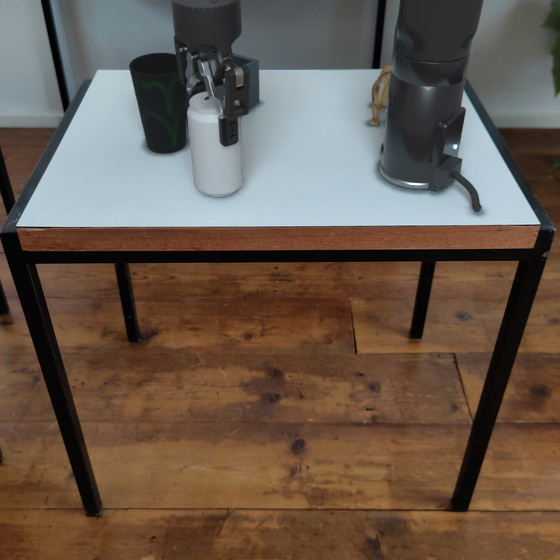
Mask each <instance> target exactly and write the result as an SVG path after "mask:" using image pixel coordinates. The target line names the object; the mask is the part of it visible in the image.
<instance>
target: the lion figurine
mask: <svg viewBox="0 0 560 560" xmlns="http://www.w3.org/2000/svg"><path fill="white" fill-rule="evenodd" d="M391 64H392V63H390V64H386V65H384V66H383V67H382V69H381V72H380V74H379V76H378V77H377V78H376V80H375V81H374V83H373V84H372V88H371V109H372V110H371V111H372V113H371V114H372V119H371V120H370V121H369V124H370V125H372V126H377V125H378V124H379V122H380V117H379V116H380V115H379V111H385V112H386V111H387V101H388V92H389V82H390V73H391Z"/></svg>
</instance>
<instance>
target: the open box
mask: <svg viewBox="0 0 560 560" xmlns="http://www.w3.org/2000/svg"><path fill="white" fill-rule="evenodd" d="M232 53H233V56H234V61H235V64H236V65H237V66H238V67H241V66H245V65H246V66H247V67H248V69H249V110H251V109H252V108H254V107H256V106H257V105H259V104H260V103H261V101H260V60H259V59H255V58H253V57H248V56H245V55H241V54H238V53H234V52H232ZM215 88H216V90H218V91H220V90H224V89H225V85H221V86H218V87H215ZM205 91H207V90H205ZM190 95H191V94H188V92H187V103H186V119H188V116H187V110H188V108H189V106H190V104H189V101H190V99H191V97H190ZM238 101H239V104H240V100H238Z"/></svg>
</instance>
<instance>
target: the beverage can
mask: <svg viewBox="0 0 560 560" xmlns="http://www.w3.org/2000/svg"><path fill="white" fill-rule="evenodd" d="M222 101H223V104H224V107H225V96H223V97H222ZM189 104H190V106H189V108H188V110H187V116H188V118H187V125H188V126H187V127H188V135H189V146H190V155H191V165H192V166H191V167H192V175H193V184H194V187H195V188H196V189H197V191H199V192H201V193H202V194H204V195H205V196H206V195H207V196H208V197H212V198H221V197H222V198H223V197H226V196H230V195H232V194H234V193H235V192H236V191H237V190H240V188H241V187H242V186H243V184H244V181H245V180H244V178H245V177H244V161H243V159H244V158H243V140H242V139H243V138H242V119H241V118H242V116H241V117H238V137H239V140H238V142H237V143H236V144H233V145H230V146H227V147H224V146H223V145H222V144H220V138H219V123H218V117H219V116H218V112H217V109H216V105H215V102H214V100H212V99H210V98H209V95H208V92H202V93H199V94H196V95H194V96H193V97H192V98H191V99H190V101H189Z"/></svg>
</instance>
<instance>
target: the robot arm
mask: <svg viewBox="0 0 560 560" xmlns="http://www.w3.org/2000/svg"><path fill="white" fill-rule="evenodd" d="M484 1H485V0H399V5H398V14H397V18H396V23H395V26H394V35H393V45H392V54H391V63H390V64H391V73H390V82H389V92H388V101H387V111H385V121H384V132H383V141H382V143H381V145H380V150H379V156H380V162H379V163H380V164H379V172H380V175H381V176H382V177H383V178H384V179H385V181H388V182H389V183H390V184H393V185H395V186H398V187H399V188H400V187H401V188H403V189H404V188H405V189H409V190H429V191H433V192H437V191H439V189H440V188H443V189H448V188H449V187H450V186H451V185H452V184H453V183H454V182H455V181H456V182H457V183H458V184H459V185H461V186H463V188H464V189H465V190H466V191H467V192H468V194H469V196H470V199H471V205H472V208H473V209H474V211H475V212H476V213H478V212H480V211H481V210H482V205H481V201H480V197H479V196H480V195H479V192H478V191H477V189H476V187H475V186H474V185H473V184H472V183H471V182H470V181H469V180H468V179H467V178H466V177H465V176H463V175H462V174H461V171H462V166H463V160H464V159H463V158H461V157H459V152H460V146H461V140H462V134H463V130H464V125H465V119H466V113H467V108H466V107H465V106H462V104H463V97H464V91H465V86H466V79H467V75H468V68H469V62H470V56H471V51H472V47H473V46H472V45H473V42H474V37H475V36H476V34H477V31H478V28H479V26H480V21H481V16H482V11H483V6H484ZM170 3H171V11H172V22H173V23H172V24H173V31H174V32H173V34H174V35H173V44H174V50H175V54H176V59H177V66H178V73H179V80H180V82H181V84H182V85H183V84H186V89H187V92H188V94H191V95H190V97H191V98H192V97H193V96H194V95H196V94H199V93H202V92H208V95H209V98H210V99H212V100H214V102H215V105H216V109H217V112H218V116H219V117H218V123H219V138H220V144H222V145H223V146H224V147H227V146H230V145H233V144H236V143H237V142H238V140H239V137H238V117H241V118H242V117H244V116H248V115H249V113H250V109H249V69H248V67H247V66H246V65H245V66H241V67H238V66H237V65H236V64H235V61H234V56H233V53H234V52H233V47H232V46H233V44H234V43H235V42H236V41H237V40H238V39H239V38H240V37H241V35H242V31H243V29H242V28H243V27H242V26H243V25H242V3H241V0H170ZM186 64H187V68H186V70H185V65H186ZM221 85H225V89H224V90H220V91H218V90H216V88H215V87H218V86H221ZM205 90H207V91H205ZM223 96H225V107H224V104H223V101H222V97H223ZM238 100H240V104H239V101H238Z"/></svg>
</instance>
